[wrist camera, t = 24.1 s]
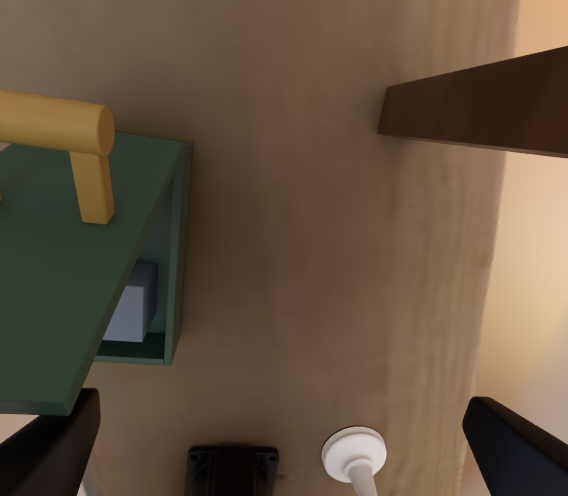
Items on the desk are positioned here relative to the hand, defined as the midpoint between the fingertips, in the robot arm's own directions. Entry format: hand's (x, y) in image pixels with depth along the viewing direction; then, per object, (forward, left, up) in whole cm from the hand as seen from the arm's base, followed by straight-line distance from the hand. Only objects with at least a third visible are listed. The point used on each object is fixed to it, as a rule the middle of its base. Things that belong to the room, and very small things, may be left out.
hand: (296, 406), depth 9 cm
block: (-4, +7, -13) cm, 15 cm away
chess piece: (-16, -9, -13) cm, 23 cm away
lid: (+3, +7, -4) cm, 9 cm away
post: (+8, -7, -13) cm, 17 cm away
